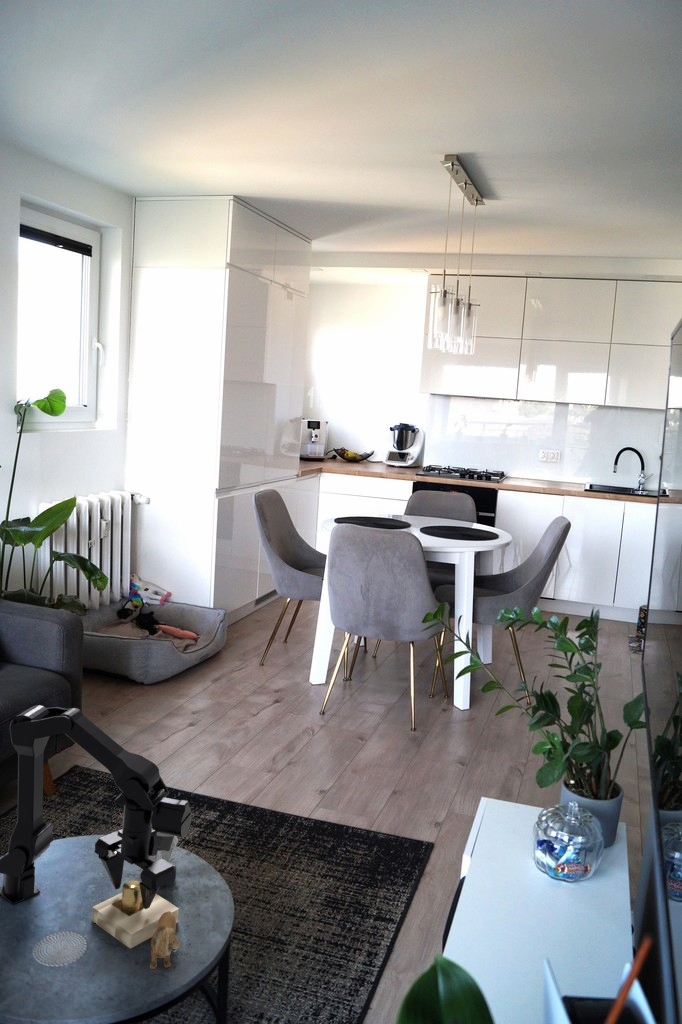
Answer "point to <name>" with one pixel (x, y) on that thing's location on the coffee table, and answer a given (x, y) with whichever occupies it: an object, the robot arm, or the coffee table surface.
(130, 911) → the brass cylinder plug
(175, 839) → the watch
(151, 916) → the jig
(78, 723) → the robot arm
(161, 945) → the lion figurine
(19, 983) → the coffee table surface
